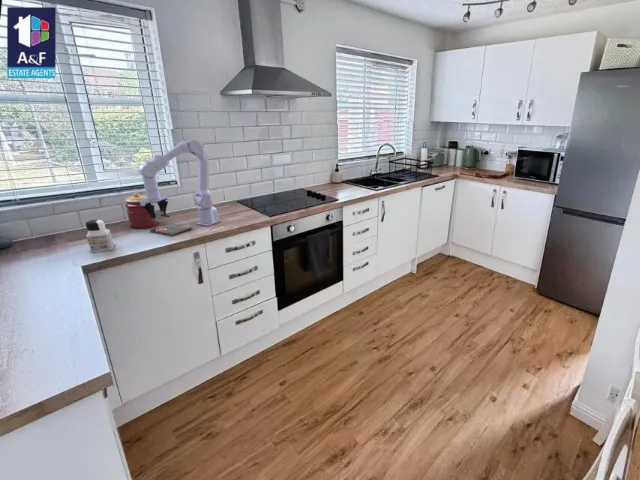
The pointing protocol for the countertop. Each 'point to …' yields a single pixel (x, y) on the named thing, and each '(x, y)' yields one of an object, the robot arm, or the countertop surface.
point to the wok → (160, 215)
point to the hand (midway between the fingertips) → (158, 216)
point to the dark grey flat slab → (170, 229)
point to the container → (98, 236)
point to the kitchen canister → (138, 212)
